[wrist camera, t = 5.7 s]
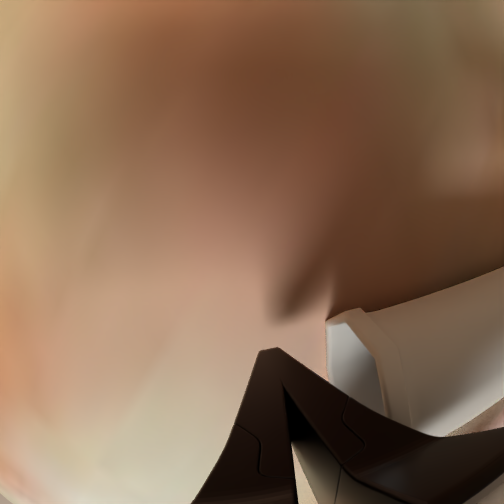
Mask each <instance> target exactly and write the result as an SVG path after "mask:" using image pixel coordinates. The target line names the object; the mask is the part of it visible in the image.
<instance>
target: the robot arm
mask: <svg viewBox="0 0 504 504" xmlns="http://www.w3.org/2000/svg"><path fill="white" fill-rule="evenodd" d="M291 444H292V446H291ZM292 447H293V449H294V451H295V453H296V456H297V458H298V460H299V462H300V465H301V467H302V469H303V471H304V474H305V476H306V478H307V480H308V483H309V485H310V487H311V489H312V491H313V493H314V496H315V498H316V500H317V502H318V504H504V427H502V428H497V429H492V430H487V431H482V432H477V433H471V434H464V435H457V436H450V437H437V436H432V435H428V434H425V433H422V432H420V431H417V430H415V429H413V428H410V427H408V426H406V425H403V424H401V423H399V422H396V421H394V420H392V419H390V418H388V417H386V416H383V415H381V414H379V413H377V412H375V411H373V410H372V409H370V408H368V407H367V406H365V405H363V404H361V403H360V402H358V401H357V400H355V399H354V398H352V397H349V395H347V394H346V393H344V392H343V391H341V390H340V389H338V388H337V387H335V386H334V385H332V384H331V383H329V382H328V381H326V380H325V379H323V378H322V377H320V376H319V375H317V374H316V373H314V372H313V371H312V370H310V369H309V368H307V367H306V366H304V365H303V364H301V363H300V362H299V361H297V360H296V359H294V358H293V357H291V356H290V355H289V354H287V353H286V352H284V351H283V350H282V349H280V348H278V347H276V348H271V349H266V350H261V351H259V353H258V355H257V358H256V361H255V364H254V367H253V370H252V373H251V376H250V379H249V382H248V385H247V388H246V391H245V394H244V397H243V400H242V402H241V405H240V408H239V411H238V414H237V417H236V419H235V422H234V425H233V427H232V430H231V433H230V436H229V438H228V440H227V443H226V445H225V447H224V449H223V451H222V453H221V455H220V457H219V459H218V461H217V463H216V464H215V466H214V468H213V469H212V471H211V473H210V475H209V476H208V478H207V480H206V481H205V483H204V485H203V486H202V488H201V489H200V491H199V493H198V494H197V496H196V497H195V499H194V500H193V501H192V503H191V504H298V496H297V488H296V479H295V471H294V462H293V454H292Z"/></svg>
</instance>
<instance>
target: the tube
mask: <svg viewBox="0 0 504 504" xmlns="http://www.w3.org/2000/svg"><path fill="white" fill-rule="evenodd" d="M325 333H326V369H327V373H328V378H329V383H331V384H332V385H334V386H335V387H337V388H338V389H340V390H341V391H343V392H344V393H346V394H347V395H349V397H352V398H354V399H355V400H357V401H358V402H360V403H361V404H363V405H365V406H367V407H368V408H370V409H372V410H373V411H375V412H377V413H379V414H381V415H383V416H386V417H388V418H390V419H392V420H394V421H396V422H399V423H401V424H403V425H406V426H408V427H410V428H413V429H415V430H417V431H420V432H422V433H425V434H428V435H432V436H437V437H444V436H446V435H447V434H449V433H451V432H452V431H454V430H456V429H458V428H459V427H461V426H462V425H464V424H466V423H467V422H469V421H470V420H472V419H473V418H475V417H476V416H478V415H479V414H481V413H482V412H484V411H485V410H487V409H488V408H490V407H491V406H492V405H494V404H495V403H497V402H498V401H499V400H501V399H502V398H503V397H504V267H501V268H499V269H496V270H494V271H491V272H489V273H486V274H484V275H481V276H479V277H476V278H474V279H471V280H468V281H466V282H463V283H460V284H458V285H455V286H452V287H449V288H446V289H444V290H441V291H438V292H435V293H432V294H429V295H426V296H423V297H420V298H417V299H414V300H411V301H407V302H404V303H401V304H398V305H395V306H391V307H388V308H385V309H381V310H378V311H373V312H367V313H365V312H364V311H363V310H362V309H361V308H356V309H352V310H348V311H344V312H342V313H340V314H338V315H336V316H334V317H332V318H330V319H328V320H326V322H325Z"/></svg>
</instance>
